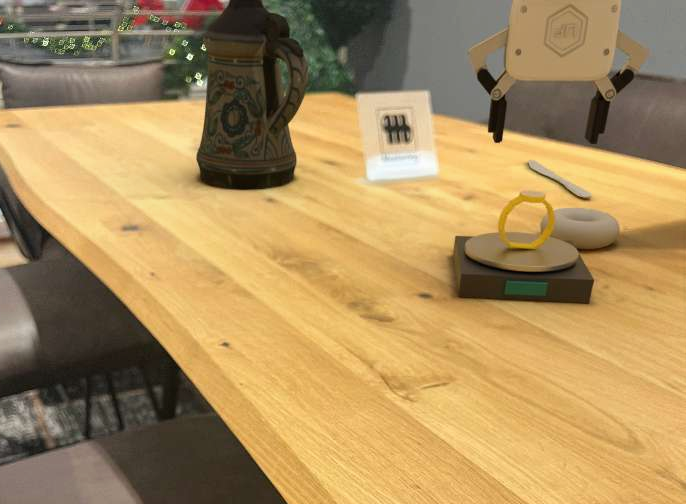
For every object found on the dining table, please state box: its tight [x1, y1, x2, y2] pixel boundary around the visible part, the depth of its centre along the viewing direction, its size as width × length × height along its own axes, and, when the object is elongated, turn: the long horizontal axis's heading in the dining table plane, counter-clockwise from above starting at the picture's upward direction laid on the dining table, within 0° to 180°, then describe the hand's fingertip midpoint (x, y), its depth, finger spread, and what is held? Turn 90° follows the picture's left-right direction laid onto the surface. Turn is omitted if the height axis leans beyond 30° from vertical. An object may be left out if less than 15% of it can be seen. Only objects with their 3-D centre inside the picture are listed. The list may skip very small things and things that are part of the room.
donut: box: [539, 207, 621, 250], centre depth 100 cm, size 10×4×10 cm
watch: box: [497, 189, 555, 250], centre depth 85 cm, size 6×3×6 cm, turn 94°
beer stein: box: [195, 0, 309, 190], centre depth 120 cm, size 16×19×25 cm
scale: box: [452, 235, 595, 304], centre depth 87 cm, size 14×14×3 cm
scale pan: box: [465, 231, 580, 272], centre depth 87 cm, size 13×13×1 cm
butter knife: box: [527, 159, 593, 199], centre depth 129 cm, size 1×27×3 cm
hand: (543, 140), depth 80 cm, fingers open, 9 cm apart
